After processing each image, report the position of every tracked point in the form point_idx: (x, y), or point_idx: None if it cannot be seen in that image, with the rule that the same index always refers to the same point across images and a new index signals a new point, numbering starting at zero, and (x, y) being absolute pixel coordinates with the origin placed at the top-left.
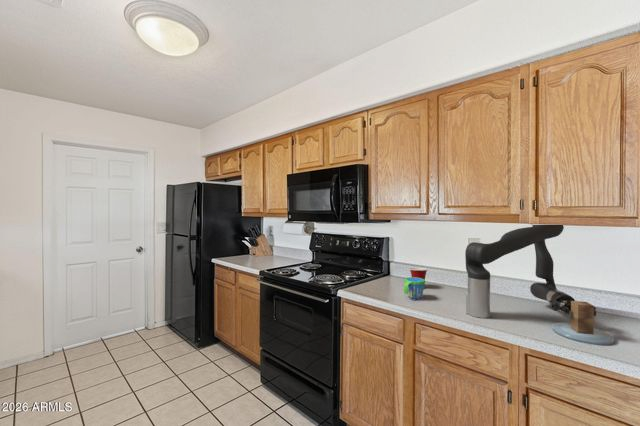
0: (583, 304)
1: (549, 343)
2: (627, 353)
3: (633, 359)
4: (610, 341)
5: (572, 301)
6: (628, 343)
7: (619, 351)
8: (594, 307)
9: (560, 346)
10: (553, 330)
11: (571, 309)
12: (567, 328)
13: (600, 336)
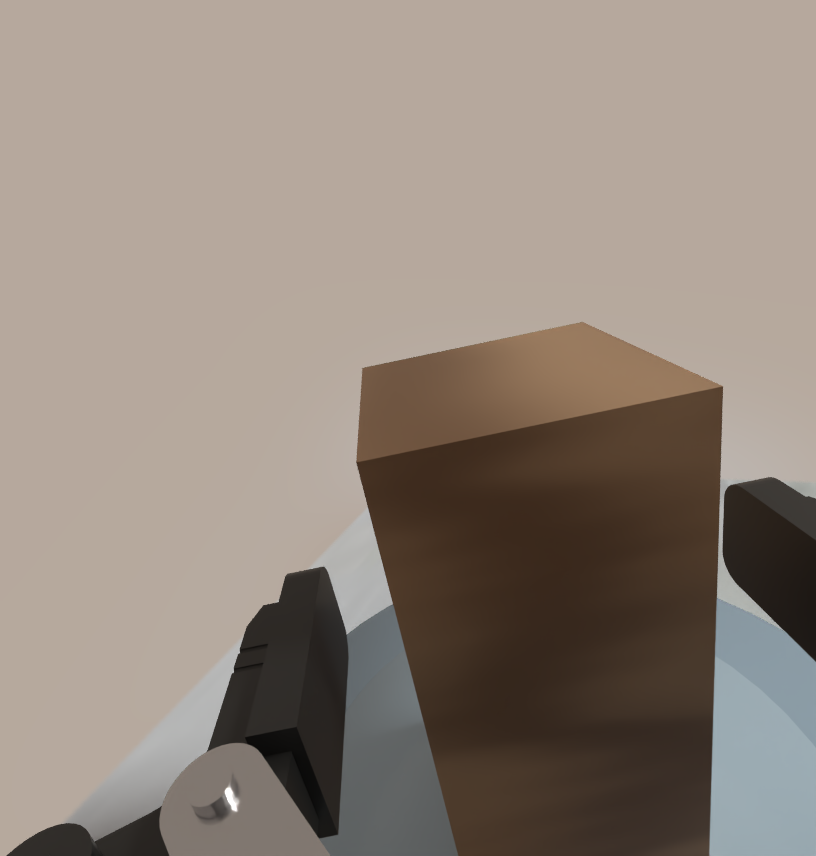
0: (499, 347)
1: (797, 486)
2: (347, 558)
3: (368, 510)
4: (364, 623)
5: (680, 368)
6: (172, 751)
7: (379, 563)
8: (54, 836)
9: (720, 481)
10: None
11: (701, 571)
12: (749, 820)
13: (394, 688)
